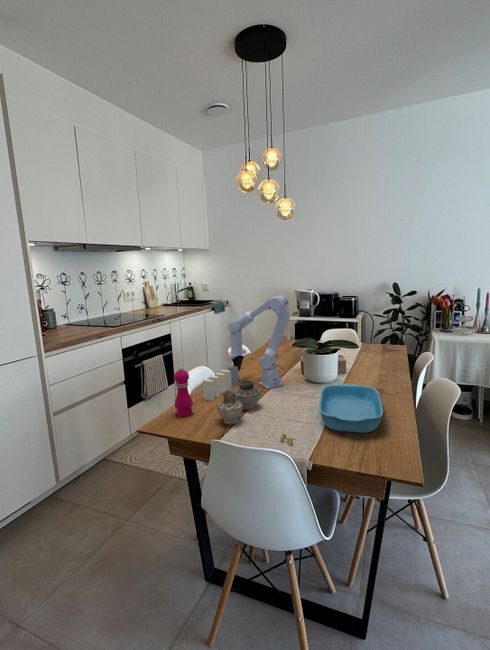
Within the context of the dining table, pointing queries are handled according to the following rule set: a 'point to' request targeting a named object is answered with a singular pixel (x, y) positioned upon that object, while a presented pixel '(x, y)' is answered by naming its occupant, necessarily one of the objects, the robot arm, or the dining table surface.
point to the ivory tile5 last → (208, 389)
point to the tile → (221, 381)
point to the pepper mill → (182, 394)
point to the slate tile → (234, 375)
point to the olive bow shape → (290, 442)
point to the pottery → (238, 401)
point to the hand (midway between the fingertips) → (237, 370)
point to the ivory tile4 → (216, 385)
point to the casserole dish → (350, 407)
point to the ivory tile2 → (227, 379)
